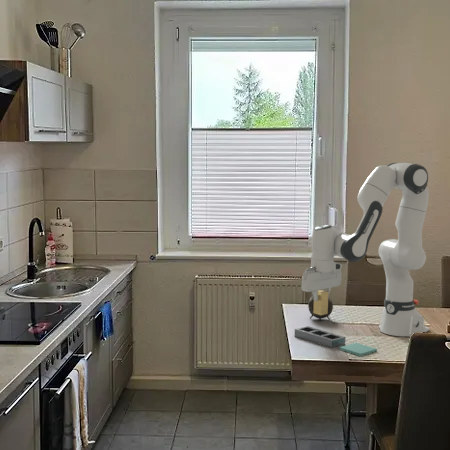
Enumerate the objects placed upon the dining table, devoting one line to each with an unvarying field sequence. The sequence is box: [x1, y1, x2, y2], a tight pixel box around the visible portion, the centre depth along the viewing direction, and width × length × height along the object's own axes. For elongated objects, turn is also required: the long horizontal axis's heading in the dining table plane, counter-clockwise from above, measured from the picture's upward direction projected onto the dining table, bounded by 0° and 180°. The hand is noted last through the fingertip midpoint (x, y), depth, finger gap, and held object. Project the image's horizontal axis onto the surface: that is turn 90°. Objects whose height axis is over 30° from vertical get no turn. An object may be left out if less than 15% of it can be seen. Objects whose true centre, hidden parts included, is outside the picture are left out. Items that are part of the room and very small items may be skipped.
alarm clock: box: [307, 289, 334, 322], centre depth 290 cm, size 11×5×16 cm, turn 84°
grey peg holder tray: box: [294, 325, 346, 349], centre depth 260 cm, size 8×20×3 cm, turn 40°
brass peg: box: [313, 289, 329, 315], centre depth 258 cm, size 4×4×9 cm
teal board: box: [339, 342, 378, 357], centre depth 247 cm, size 10×10×1 cm
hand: (320, 299), depth 258 cm, fingers closed on brass peg, 4 cm apart
